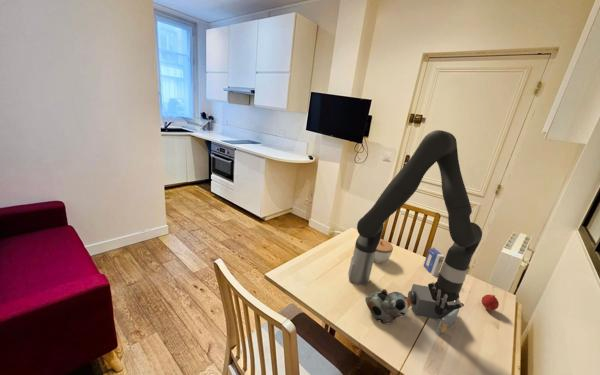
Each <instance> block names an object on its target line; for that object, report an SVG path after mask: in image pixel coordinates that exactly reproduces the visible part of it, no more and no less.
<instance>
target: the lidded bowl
mask: <svg viewBox="0 0 600 375" xmlns="http://www.w3.org/2000/svg"><path fill="white" fill-rule="evenodd" d="M393 250H394V246H393V244H392V243H391V242H389V241H388V240H385V239H383V238H380V241H379V244H378V246H377V248H376V252H375V256H374V261H373V262H375V263H377V264H378V263H379V264H381V263H384V262H386V261H387V260H389V259H390V257H391V255H392V252H393Z"/></svg>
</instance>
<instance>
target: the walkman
mask: <svg viewBox="0 0 600 375" xmlns="http://www.w3.org/2000/svg"><path fill="white" fill-rule="evenodd" d="M444 260H445V255H444V254H442V253H441V252H440V251H439V250H438V249H437V248H435V247H429V248H428V251H427V254H426V257H425V260H424V264H423V267H424V269H425V270H426V271H427V272H428V273H429V274H430V275H431V276H433V277H438V276H439V273H440V270H441V267H442V264H443V263H444Z"/></svg>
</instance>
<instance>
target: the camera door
mask: <svg viewBox="0 0 600 375" xmlns="http://www.w3.org/2000/svg"><path fill="white" fill-rule="evenodd" d="M460 309H461V308H459V309H455V310H453V311H452V312H451V313H449V314H448V315H446V316H445V317H443V318H442V319H441V320H440V322H439V325H438V327H437V331H436V334H437V335H440V334H441V333H444V332H446V330H447V329H448V328H449V327H450V326H452V325H453V324H455V322H456V319H457V316H458V314H459V311H460Z"/></svg>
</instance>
